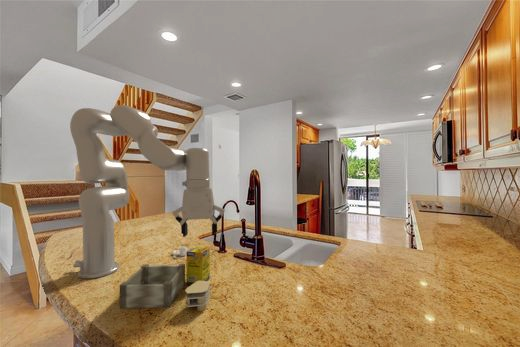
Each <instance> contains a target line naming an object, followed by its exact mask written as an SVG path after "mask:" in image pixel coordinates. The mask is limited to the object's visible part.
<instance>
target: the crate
mask: <svg viewBox="0 0 520 347" xmlns="http://www.w3.org/2000/svg"><path fill="white" fill-rule="evenodd" d="M185 283H186V263H178V264H169V265H168V264H165V265H164V264H163V265H161V264H160V265H156V264H155V265H150V264H149V263H148V264H147V263H146V264H142V265H141V266H140V268H139V269H138V270H137V271H136V272H134V274H132V275H131V276H129V278H128V279H127V280H125V281H123V282H121V283H120V284H119V309H147V308H148V309H151V308H152V309H153V308H159V309H160V308H171V307H172V305H173V304H174V302H175V300H176V298H177V297H178V296H179V294H180V292H181V290H182V288H184V286H185Z"/></svg>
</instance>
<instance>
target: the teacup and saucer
mask: <svg viewBox="0 0 520 347" xmlns="http://www.w3.org/2000/svg"><path fill="white" fill-rule="evenodd" d="M187 251H188V248H187V245H181V246H179V247H178V249H177V250H176V249H175V250H173V251H172V255H173V256H172V258H174V259H178V260H179V259H180V260H181V259H186V252H187ZM177 256H180V257H177Z"/></svg>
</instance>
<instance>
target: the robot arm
mask: <svg viewBox="0 0 520 347" xmlns="http://www.w3.org/2000/svg"><path fill="white" fill-rule="evenodd" d="M151 120H152V119H151V117H150V116H149V115H148V114H147V112H145V111H143V110H141V109H137V108H135V107H133V106H130V105H125V104H120V105H118V104H117V105H116V106H114V107H113V108H112V109H111V110H110V113H109V112H106V111H104V110H101V109H96V108H89V107H84V108H80V109H78V110H76V111H75V112H74V113H73V115H72V116H71V119H70V123H69V126H70V128H69V129H70V133H71V138H72V140H73V142H74V145H75V150H76V157H77V164H78V169H79V170H78V171H79V175H80V179H81V180H82V181H83V182H85V183H87V184H105V185H103V186H94V187H89V188H87V189H85V190H84V191H82V192H81V193H80V194H79V198H78V206H79V209H80V213H81V221H82V259H76V261H75V262H74V263H73V268H79V271H78V272H77V277H78V278H80V279H95V278H96V279H97V278H100V277H102V278H103V277H105V276H108V275H111V274H112V273H114V272H116V271H118V270H119V268H120V263H119V262H117V261H115V222H114V219H113V216H112V215H111V213H110V212H109V211H112V210H117V209H118V210H119V209H121V208H125V206H127V205H128V203H129V201H130V198H131V197H130V196H131V195H130V188H129V180H128V174H127V170H126V168H125V165H124V164H123V163H122V162H121V161H119V160H117V159H114V158H111V159H110V158H107V155H106V153H105V151H106V150H105V146H104V144H103V142H102V141H101V139H100V137H98V136H97V134H101V135H103V136H104V135H106V136H110V137H124V136H128V137H129V138H130V139H132V140H133V141H134V142H135V143H136V144H137V146H138V150H139V151H140V153H141V155H142V156H143V157H144V158H146V159H147V161H149V163H151V164H153V165H154V166H155V167H157V168H158V169H160V170H162V171H175V172H176V171H177V172H178V171H185V175H186V176H185V177H186V179H185V181H182V182H181V184H182V186H183V187H185V189H183V194H182V206H180V207H179V208H177V209H175V210H173V211H172V215H173V216H174V218H175V220H176V221H177V222H178V223H179V224H180V228H181V229H180V230H181V234H182V238H186V237H187V236H188V234H189V233H188V232H189V230H188V227H189V226H188V222H187V221H189V220H191V221H192V220H210V221H211V222H212V223H211V235H212V236H213V237H215V236H216V234H217V233H218V223H219V221H220V220H221V219H222V218H223V216H224V214H225V211H226V209H224V208H223V207H220V206H218V205H217V204H215V200H214V193H213V189H212V188H211V187H210V186H211V185H210V184H211V183H210V159H209V158H210V155H209V150H208V149H207V148H206V147H205V148H204V147H191V148H187V149H181V148H176V147H170V146H168V145H166V144H165V143H164V142H163V141H162V140H160V139H159V138H158V134H159V130H158V127H157V126H156V125H154V124H153V123H152V121H151ZM215 211H217V212H219V214H218V215H217V216H216V215H215ZM180 213H181V215H182V217H181V216H180Z"/></svg>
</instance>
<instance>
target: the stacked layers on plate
mask: <svg viewBox="0 0 520 347" xmlns="http://www.w3.org/2000/svg"><path fill="white" fill-rule="evenodd" d="M210 284H211V280H207V281H197V282H195V283H194V284H192V285H191V284H190V285H189V286H187V287H186V289H184V291H185V292H186V294H184V297H185V298H186V301H185V302H184V305H186V306H187V307H188V308H190V307H197V308H196V309H197V311H198V312H199V311H201V312H202V311H205V310H206V309H207V305H208V303H209V301H210V297H211V292H210V291H211V285H210Z"/></svg>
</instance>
